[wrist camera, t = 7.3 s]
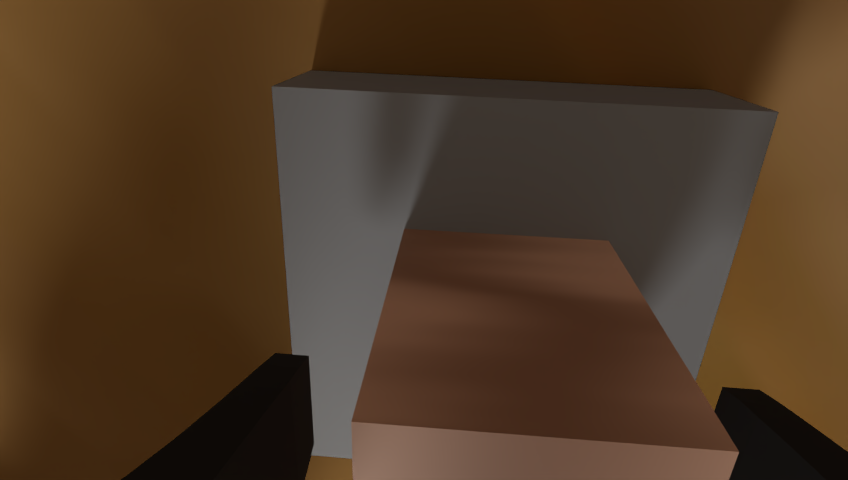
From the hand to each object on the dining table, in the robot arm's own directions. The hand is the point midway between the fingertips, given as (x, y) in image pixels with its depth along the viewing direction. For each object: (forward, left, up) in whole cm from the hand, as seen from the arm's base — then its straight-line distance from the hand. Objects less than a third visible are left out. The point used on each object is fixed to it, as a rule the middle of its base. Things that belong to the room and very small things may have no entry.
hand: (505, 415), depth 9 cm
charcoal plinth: (0, 0, -6) cm, 6 cm away
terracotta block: (0, 0, -3) cm, 3 cm away
